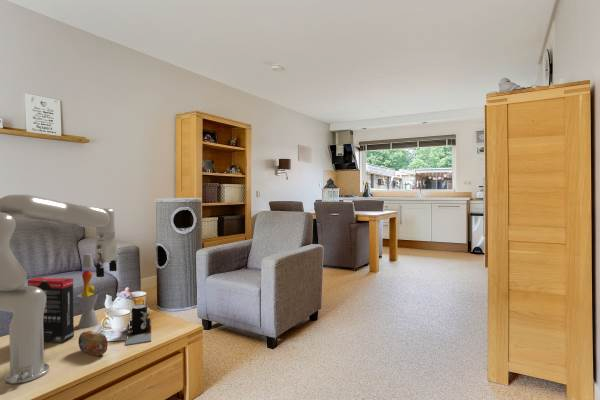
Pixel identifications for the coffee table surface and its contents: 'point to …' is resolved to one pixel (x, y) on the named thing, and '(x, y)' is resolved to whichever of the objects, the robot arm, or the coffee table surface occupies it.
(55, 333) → the graphics card box
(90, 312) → the lava lamp
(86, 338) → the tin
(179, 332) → the coffee table surface
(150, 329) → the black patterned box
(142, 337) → the grey mat
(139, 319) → the beverage can
